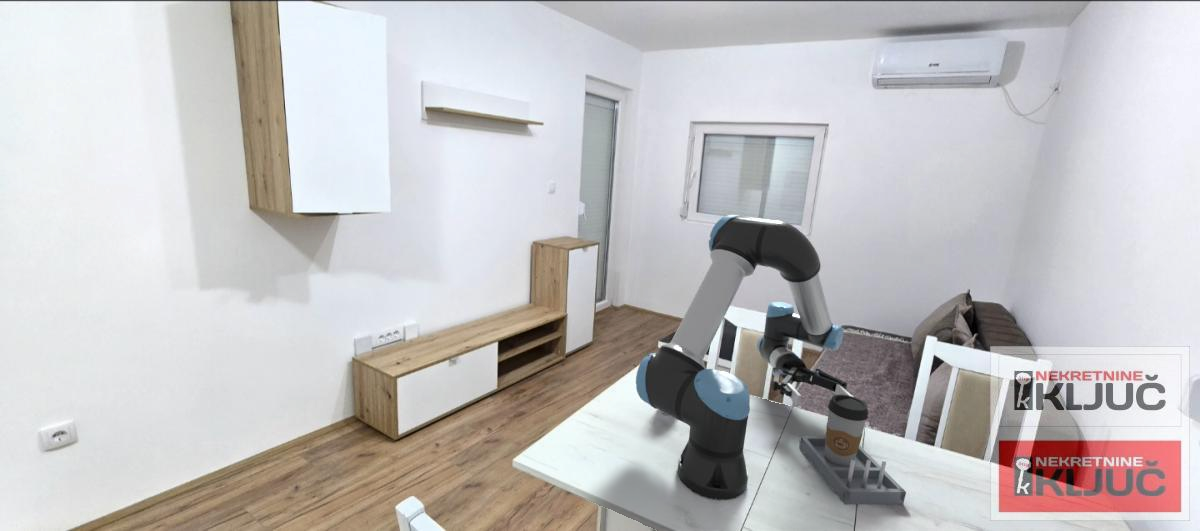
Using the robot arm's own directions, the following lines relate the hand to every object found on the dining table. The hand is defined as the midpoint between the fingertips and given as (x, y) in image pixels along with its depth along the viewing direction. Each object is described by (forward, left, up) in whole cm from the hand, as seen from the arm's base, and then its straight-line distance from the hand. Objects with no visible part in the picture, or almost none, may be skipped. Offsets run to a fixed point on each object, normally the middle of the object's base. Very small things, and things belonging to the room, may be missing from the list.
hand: (825, 401), depth 119 cm
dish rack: (+11, -7, -11) cm, 17 cm away
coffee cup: (+8, -5, -10) cm, 14 cm away
